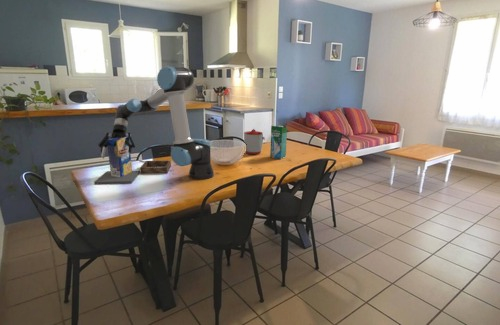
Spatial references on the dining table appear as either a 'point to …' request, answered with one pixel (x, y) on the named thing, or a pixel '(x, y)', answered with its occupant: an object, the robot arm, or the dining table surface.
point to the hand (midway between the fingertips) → (114, 157)
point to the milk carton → (278, 141)
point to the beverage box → (119, 157)
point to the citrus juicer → (253, 141)
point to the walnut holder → (155, 167)
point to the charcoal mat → (117, 178)
